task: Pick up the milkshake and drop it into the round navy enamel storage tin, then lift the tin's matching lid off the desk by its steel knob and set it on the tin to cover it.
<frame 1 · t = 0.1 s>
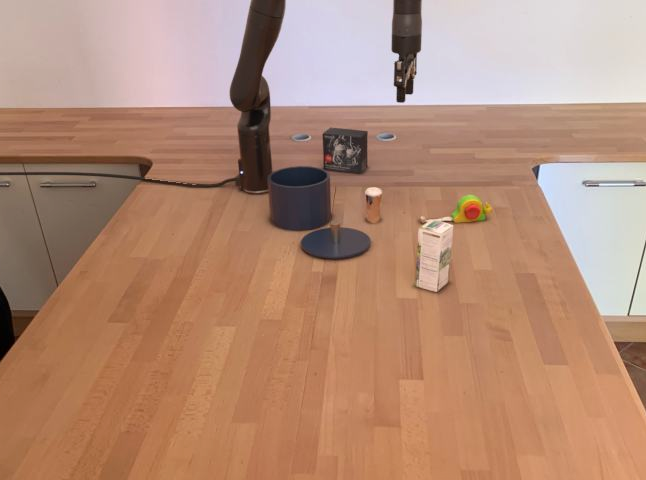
hand: (404, 98, 186), 29 cm above the worktop, tool pointing down, fingers open, 8 cm apart
syrup box: (432, 285, 161), on the worktop
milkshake: (374, 221, 193), on the worktop
tin: (301, 218, 195), on the worktop
small box: (345, 169, 229), on the worktop
tin lid: (335, 243, 179), point 1 cm above the worktop
toy measuring tape: (455, 220, 191), on the worktop
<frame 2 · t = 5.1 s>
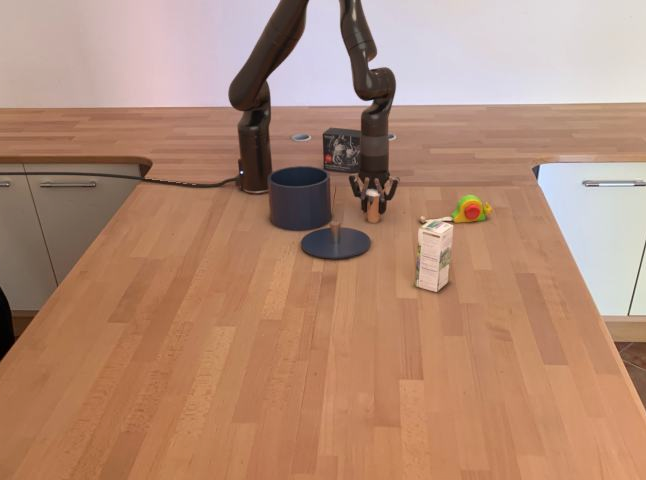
hand: (373, 212, 191), 2 cm above the worktop, tool pointing down, fingers closed on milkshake, 4 cm apart
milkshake: (374, 221, 193), on the worktop, touching gripper
everything else where it was.
when the fingers open (7 cm above the worktop, at t = 11.9 s): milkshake drops 4 cm, resting on tin.
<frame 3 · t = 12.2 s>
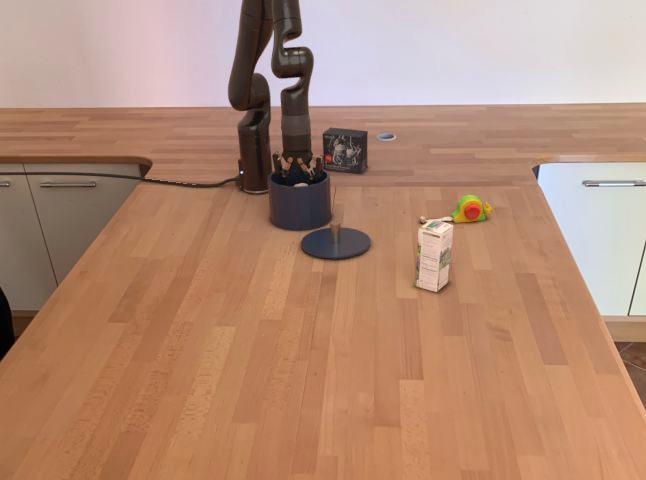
hand: (299, 192, 191), 8 cm above the worktop, tool pointing down, fingers open, 6 cm apart
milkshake: (308, 216, 194), point 1 cm above the worktop, touching tin
everything else where it was.
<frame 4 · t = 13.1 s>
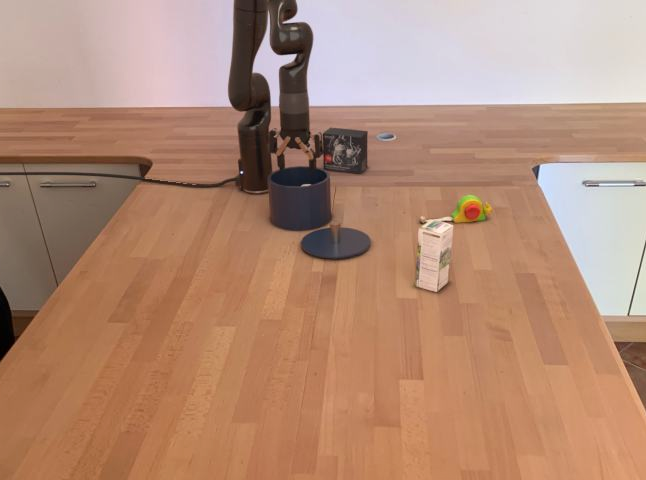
hand: (296, 170, 188), 14 cm above the worktop, tool pointing down, fingers open, 8 cm apart
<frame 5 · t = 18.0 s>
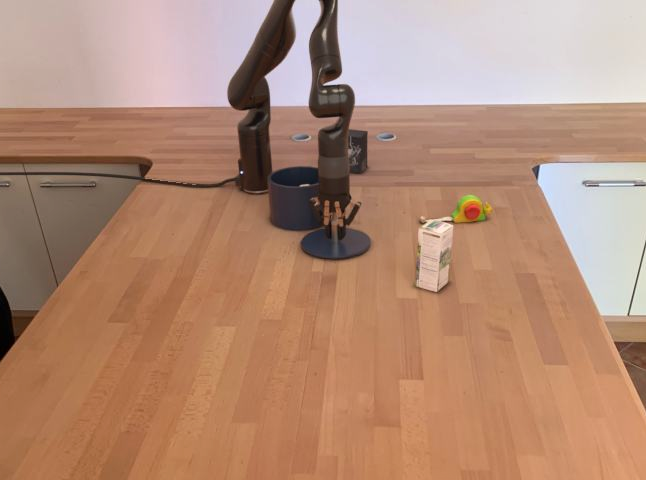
hand: (335, 237, 179), 2 cm above the worktop, tool pointing down, fingers closed on tin lid, 2 cm apart
tin lid: (335, 243, 179), point 1 cm above the worktop, touching gripper
when the fingers open (13 cm above the worktop, at t = 24.9 s): tin lid stays where it is, resting on tin.
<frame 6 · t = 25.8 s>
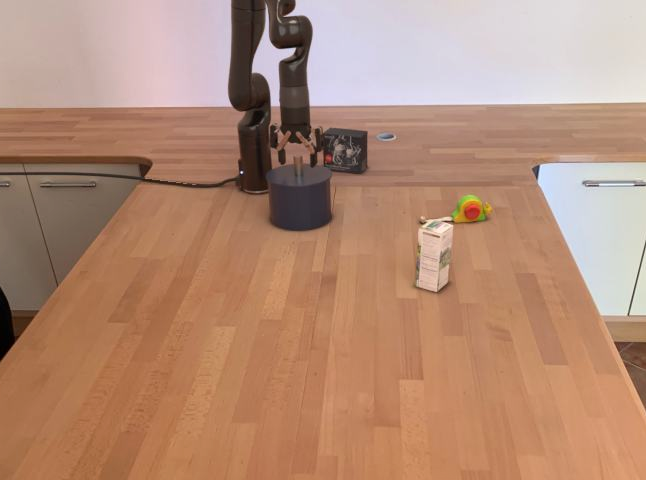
hand: (298, 165, 187), 15 cm above the worktop, tool pointing down, fingers open, 8 cm apart
tin lid: (299, 176, 189), point 12 cm above the worktop, touching tin
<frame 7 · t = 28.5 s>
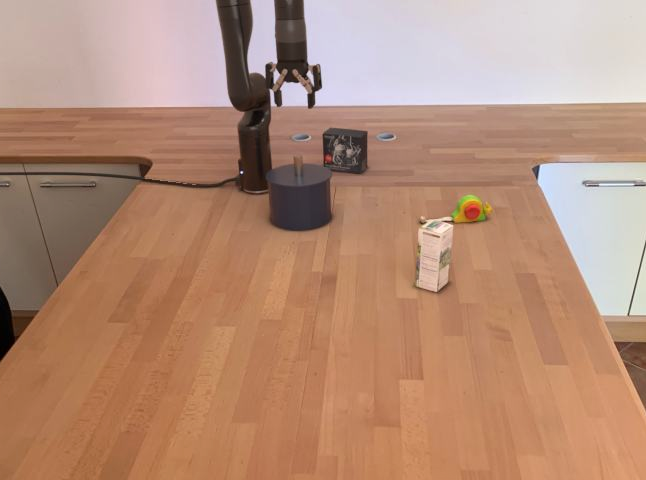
hand: (294, 107, 179), 30 cm above the worktop, tool pointing down, fingers open, 8 cm apart
at the end: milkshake inside the target area in the tin (2.2 cm from its centre), point 0.3 cm above the tin's base; tin lid 0.1 cm off-centre on the tin, point 12.0 cm above the tin's base; tin lid tilted 0° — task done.
